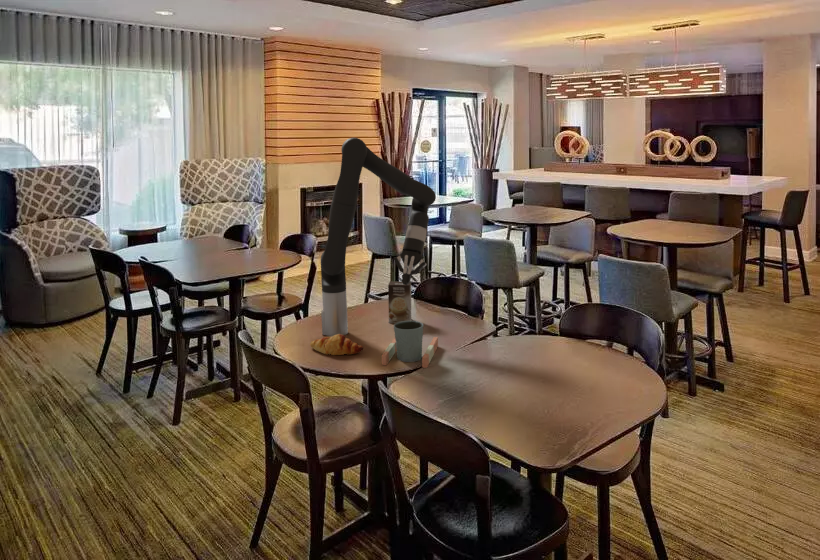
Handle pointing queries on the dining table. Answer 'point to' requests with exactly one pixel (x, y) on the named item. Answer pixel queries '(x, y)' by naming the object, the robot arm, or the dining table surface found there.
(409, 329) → the grey green cup
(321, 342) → the croissant
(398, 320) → the coffee box
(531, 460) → the dining table surface
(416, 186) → the robot arm
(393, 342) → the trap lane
